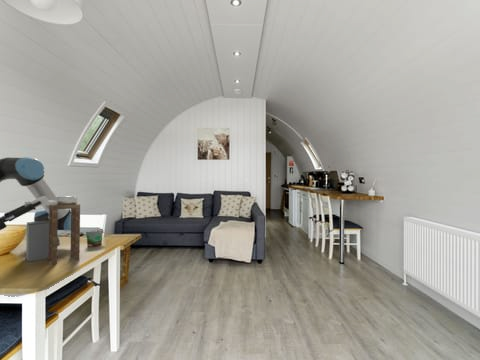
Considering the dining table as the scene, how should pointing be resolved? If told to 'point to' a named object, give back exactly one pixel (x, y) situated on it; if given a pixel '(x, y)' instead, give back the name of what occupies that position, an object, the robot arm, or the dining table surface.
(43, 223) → the gray rectangular block
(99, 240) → the food container
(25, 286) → the dining table surface
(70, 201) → the silver saucepan
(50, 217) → the tall stand
